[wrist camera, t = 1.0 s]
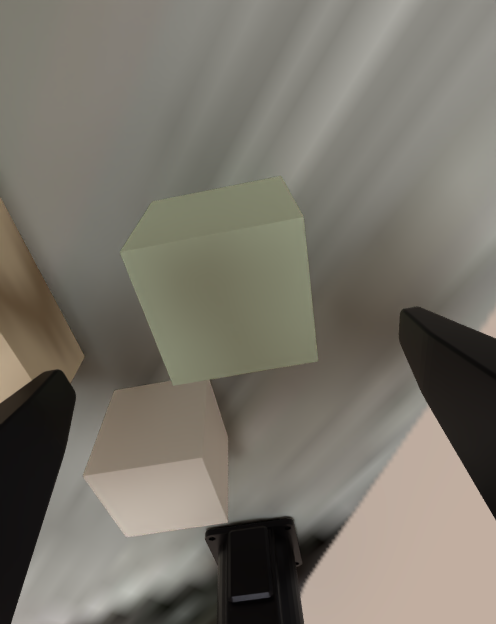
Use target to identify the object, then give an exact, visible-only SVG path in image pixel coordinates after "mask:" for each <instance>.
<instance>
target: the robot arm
mask: <svg viewBox="0 0 496 624" xmlns="http://www.w3.org/2000/svg"><path fill="white" fill-rule="evenodd" d="M399 340H400V344H401V346H402V349H403V351H404V353H405V356H406V358H407V360H408V363H409V365H410V367H411V370H412V372H413V374H414V377H415V379H416V381H417V383H418V386H419V388H420V390H421V392H422V394H423V396H424V398H425V400H426V402H427V403H428V405H429V407H430V408H431V410H432V412H433V414H434V415H435V417H436V418H437V420H438V422H439V424H440V426H441V427H442V429H443V431H444V432H445V434H446V436H447V437H448V439H449V441H450V443H451V444H452V446H453V448H454V449H455V451H456V453H457V455H458V456H459V458H460V460H461V461H462V463H463V465H464V467H465V468H466V470H467V472H468V473H469V475H470V477H471V478H472V480H473V482H474V484H475V485H476V487H477V489H478V490H479V492H480V494H481V495H482V497H483V499H484V501H485V502H486V504H487V506H488V507H489V509H490V511H491V513H492V514H493V516H494V518H495V519H496V338H493V337H491V336H488V335H486V334H484V333H481V332H479V331H476V330H474V329H472V328H469V327H467V326H464V325H462V324H459V323H457V322H455V321H452V320H450V319H447V318H445V317H443V316H440V315H438V314H435V313H433V312H430V311H428V310H426V309H423V308H421V307H411V308H406V309H403V310H402V311H401V313H400V323H399ZM75 401H76V394H75V391H74V389H73V387H72V385H71V384H70V382H69V380H68V379H67V377H66V375H65V374H64V372H63V371H62V370H59V369H55V370H50V371H45V372H43V373H41V374H40V375H38V376H37V377H36V378H34V379H33V380H32V381H30V382H29V383H27V384H26V385H25V386H23V387H22V388H21V389H19V390H18V391H16V392H15V393H14V394H12V395H11V396H10V397H8V398H7V399H5V400H4V401H3V402H1V403H0V624H11V622H12V618H13V615H14V612H15V609H16V606H17V603H18V599H19V596H20V593H21V590H22V587H23V584H24V580H25V577H26V574H27V571H28V568H29V565H30V561H31V558H32V555H33V552H34V549H35V546H36V542H37V539H38V536H39V533H40V530H41V527H42V523H43V520H44V517H45V514H46V511H47V508H48V504H49V501H50V498H51V495H52V492H53V489H54V485H55V482H56V479H57V476H58V473H59V470H60V466H61V463H62V460H63V457H64V453H65V449H66V445H67V441H68V436H69V431H70V426H71V421H72V416H73V411H74V406H75ZM205 540H206V542H207V544H208V546H209V548H210V551H211V553H212V555H213V557H214V559H215V561H216V563H217V565H218V589H217V624H304V619H303V613H302V605H301V598H300V591H299V583H298V576H297V569H296V567H297V566H300V565H302V557H301V553H300V548H299V543H298V539H297V534H296V530H295V525H294V521H293V520H292V519H281V520H274V521H267V522H260V523H253V524H246V525H239V526H232V527H225V528H218V529H211V530H208V531H206V533H205Z"/></svg>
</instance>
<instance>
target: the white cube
mask: <svg viewBox="0 0 496 624" xmlns="http://www.w3.org/2000/svg"><path fill="white" fill-rule="evenodd" d="M83 477H84V479H85V480H86V482H87V483H88V484H89V486H90V487H91V489H92V490H93V491H94V493H95V494H96V496H97V497H98V498H99V500H100V501H101V503H102V504H103V505H104V507H105V508H106V510H107V511H108V512H109V514H110V515H111V517H112V518H113V519H114V521H115V522H116V524H117V525H118V526H119V528H120V529H121V531H122V532H123V533H124V535H125V536H126V537H131V536H138V535H145V534H152V533H159V532H166V531H173V530H180V529H187V528H194V527H201V526H208V525H215V524H222V523H228V435H227V432H226V429H225V426H224V423H223V420H222V417H221V414H220V410H219V407H218V404H217V401H216V398H215V395H214V392H213V389H212V386H211V383H210V380H205V381H199V382H193V383H187V384H181V385H175V386H173V384H172V382H171V381H166V382H160V383H154V384H148V385H143V386H137V387H131V388H125V389H119V390H114V393H113V396H112V398H111V401H110V404H109V406H108V409H107V412H106V414H105V417H104V420H103V423H102V425H101V428H100V431H99V433H98V436H97V439H96V441H95V444H94V447H93V450H92V452H91V455H90V458H89V460H88V463H87V466H86V468H85V471H84V474H83Z"/></svg>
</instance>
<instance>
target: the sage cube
mask: <svg viewBox="0 0 496 624" xmlns="http://www.w3.org/2000/svg"><path fill="white" fill-rule="evenodd" d="M120 254H121V257H122V259H123V262H124V264H125V267H126V269H127V272H128V274H129V277H130V279H131V282H132V284H133V287H134V289H135V292H136V294H137V297H138V299H139V302H140V304H141V307H142V309H143V312H144V314H145V317H146V319H147V322H148V324H149V327H150V329H151V332H152V334H153V337H154V339H155V342H156V344H157V347H158V349H159V352H160V354H161V357H162V359H163V362H164V364H165V367H166V369H167V372H168V374H169V377H170V379H171V382H172V384H173V386H175V385H181V384H187V383H193V382H199V381H205V380H211V379H216V378H222V377H228V376H234V375H240V374H246V373H252V372H258V371H264V370H270V369H276V368H282V367H288V366H294V365H300V364H306V363H312V362H318V354H317V344H316V334H315V324H314V314H313V304H312V294H311V285H310V275H309V265H308V255H307V245H306V235H305V226H304V217H303V215H302V213H301V211H300V209H299V208H298V206H297V204H296V202H295V200H294V199H293V197H292V195H291V193H290V191H289V190H288V188H287V186H286V184H285V182H284V180H283V179H282V177H281V176H278V177H273V178H268V179H263V180H258V181H253V182H248V183H243V184H238V185H233V186H228V187H223V188H218V189H213V190H208V191H203V192H198V193H193V194H188V195H183V196H178V197H173V198H167V199H162V200H157V201H152V202H151V204H150V206H149V207H148V209H147V210H146V212H145V213H144V215H143V217H142V218H141V220H140V221H139V223H138V224H137V226H136V227H135V229H134V231H133V232H132V234H131V235H130V237H129V238H128V240H127V241H126V243H125V245H124V246H123V248H122V249H121V251H120Z"/></svg>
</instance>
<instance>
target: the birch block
mask: <svg viewBox="0 0 496 624" xmlns="http://www.w3.org/2000/svg"><path fill="white" fill-rule="evenodd" d="M84 357H85V356H84V354H83V352H82V350H81V348H80V347H79V345H78V343H77V341H76V339H75V337H74V335H73V333H72V331H71V330H70V328H69V326H68V324H67V322H66V320H65V318H64V316H63V314H62V313H61V311H60V309H59V307H58V305H57V303H56V301H55V299H54V298H53V296H52V294H51V292H50V290H49V288H48V286H47V284H46V282H45V281H44V279H43V277H42V275H41V273H40V271H39V269H38V267H37V265H36V264H35V262H34V260H33V258H32V256H31V254H30V252H29V250H28V248H27V247H26V245H25V243H24V241H23V239H22V237H21V235H20V233H19V231H18V230H17V228H16V226H15V224H14V222H13V220H12V218H11V216H10V214H9V213H8V211H7V209H6V207H5V205H4V203H3V201H2V199H1V198H0V403H1V402H3V401H4V400H5V399H7V398H8V397H10V396H11V395H12V394H14V393H15V392H16V391H18V390H19V389H21V388H22V387H23V386H25V385H26V384H27V383H29V382H30V381H32V380H33V379H34V378H36V377H37V376H38V375H40V374H41V373H43V372H45V371H50V370H55V369H59V370H62V371H63V372H64V374H65V375H66V377H67V379H68V380H69V382H70V384H71V382H72V380H73V378H74V376H75V374H76V372H77V370H78V368H79V367H80V365H81V363H82V361H83V359H84Z"/></svg>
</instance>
